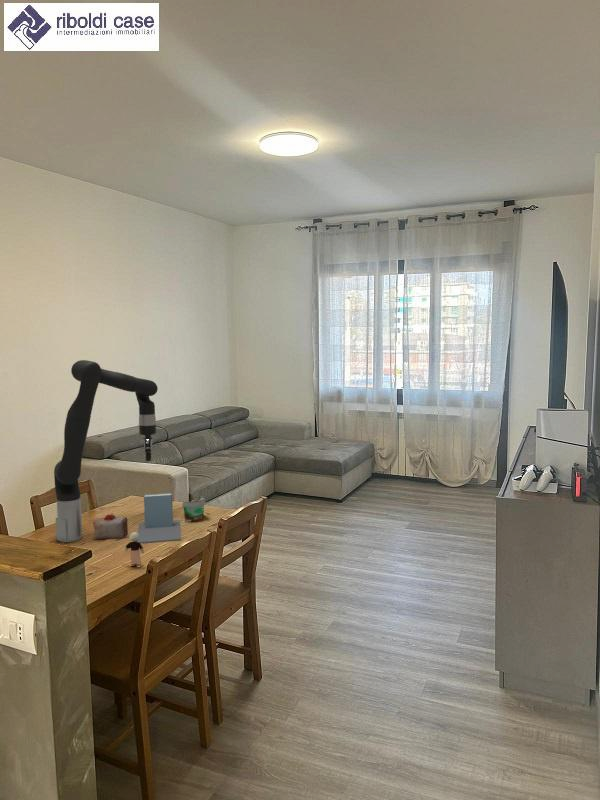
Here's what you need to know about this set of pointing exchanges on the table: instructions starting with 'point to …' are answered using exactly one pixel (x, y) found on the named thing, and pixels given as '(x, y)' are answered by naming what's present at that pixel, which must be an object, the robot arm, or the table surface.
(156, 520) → the book
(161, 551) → the table surface
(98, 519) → the food item
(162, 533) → the mat
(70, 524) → the robot arm
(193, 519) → the food container
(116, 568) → the table surface
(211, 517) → the table surface
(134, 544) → the grandmother figurine
